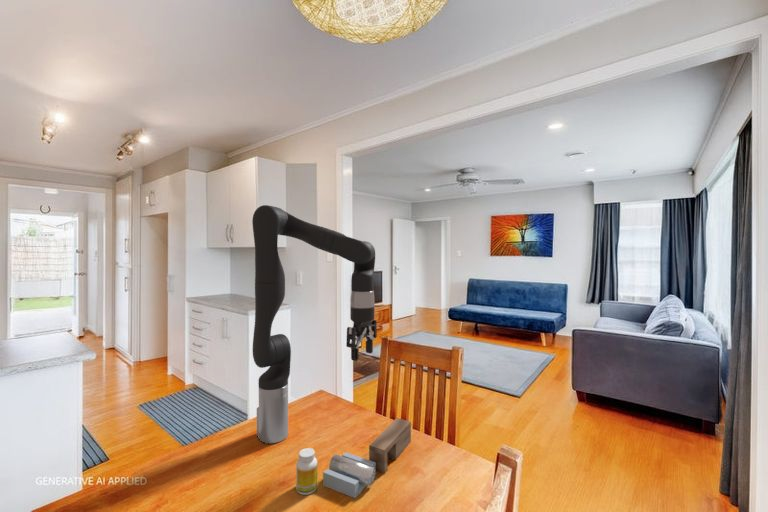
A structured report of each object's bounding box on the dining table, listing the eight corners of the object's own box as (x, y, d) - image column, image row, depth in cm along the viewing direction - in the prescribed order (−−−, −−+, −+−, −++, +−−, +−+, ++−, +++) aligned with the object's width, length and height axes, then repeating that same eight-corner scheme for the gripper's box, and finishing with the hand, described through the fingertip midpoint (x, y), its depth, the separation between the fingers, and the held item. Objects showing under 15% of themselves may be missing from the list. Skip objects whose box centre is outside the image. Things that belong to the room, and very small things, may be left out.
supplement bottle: (294, 485, 92) (294, 449, 92) (314, 479, 94) (314, 444, 94) (298, 498, 87) (298, 460, 87) (319, 491, 90) (319, 455, 89)
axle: (329, 474, 95) (329, 458, 95) (338, 466, 98) (338, 451, 98) (367, 489, 89) (367, 472, 89) (375, 480, 93) (375, 464, 93)
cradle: (323, 485, 92) (323, 472, 92) (345, 464, 101) (345, 452, 101) (355, 498, 87) (355, 484, 87) (375, 474, 96) (375, 462, 96)
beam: (369, 468, 99) (369, 445, 99) (396, 437, 115) (396, 417, 115) (384, 473, 97) (384, 450, 96) (410, 441, 112) (410, 421, 112)
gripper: (360, 309, 102) (360, 365, 102) (383, 302, 114) (383, 352, 115) (339, 307, 105) (339, 361, 106) (364, 300, 118) (364, 348, 118)
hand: (362, 356), depth 110 cm, fingers open, 8 cm apart
